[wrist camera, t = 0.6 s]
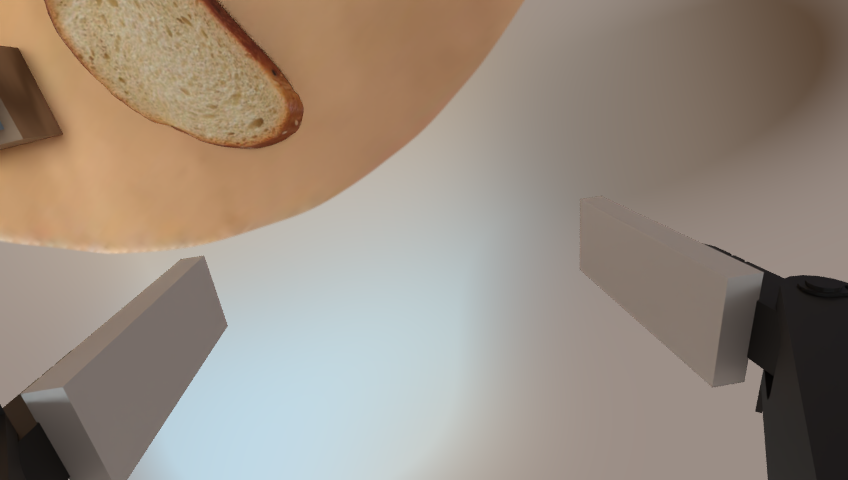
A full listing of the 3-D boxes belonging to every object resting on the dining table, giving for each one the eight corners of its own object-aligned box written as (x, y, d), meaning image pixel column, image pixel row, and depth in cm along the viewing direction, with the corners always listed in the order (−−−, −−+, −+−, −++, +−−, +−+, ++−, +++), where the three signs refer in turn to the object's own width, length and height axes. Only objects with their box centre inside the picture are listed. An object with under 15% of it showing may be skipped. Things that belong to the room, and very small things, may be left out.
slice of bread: (310, 142, 39) (303, 147, 35) (109, 160, 37) (80, 167, 34) (271, -89, 33) (258, -112, 29) (30, -77, 31) (-14, -99, 28)
